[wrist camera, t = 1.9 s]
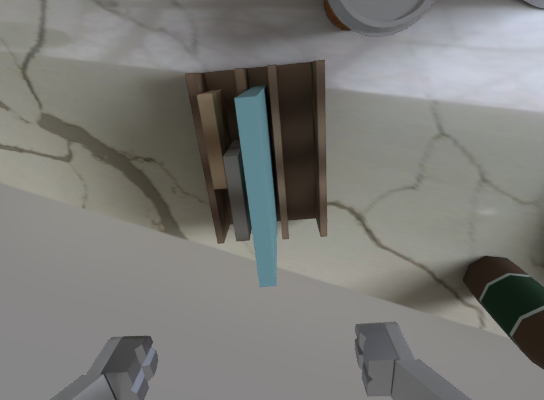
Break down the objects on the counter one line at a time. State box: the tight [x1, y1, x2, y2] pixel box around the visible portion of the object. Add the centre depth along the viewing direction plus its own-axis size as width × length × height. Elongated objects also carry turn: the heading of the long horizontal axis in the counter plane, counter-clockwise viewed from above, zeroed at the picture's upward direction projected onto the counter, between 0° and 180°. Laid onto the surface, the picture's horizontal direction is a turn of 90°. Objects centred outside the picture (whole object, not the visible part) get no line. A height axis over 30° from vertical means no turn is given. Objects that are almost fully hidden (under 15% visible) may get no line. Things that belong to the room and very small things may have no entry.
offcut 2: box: [223, 139, 252, 241], centre depth 35 cm, size 10×2×8 cm, turn 5°
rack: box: [185, 60, 327, 244], centre depth 36 cm, size 20×14×6 cm
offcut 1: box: [197, 90, 231, 189], centre depth 33 cm, size 10×2×6 cm, turn 5°
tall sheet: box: [234, 85, 277, 287], centre depth 30 cm, size 16×2×16 cm, turn 5°
